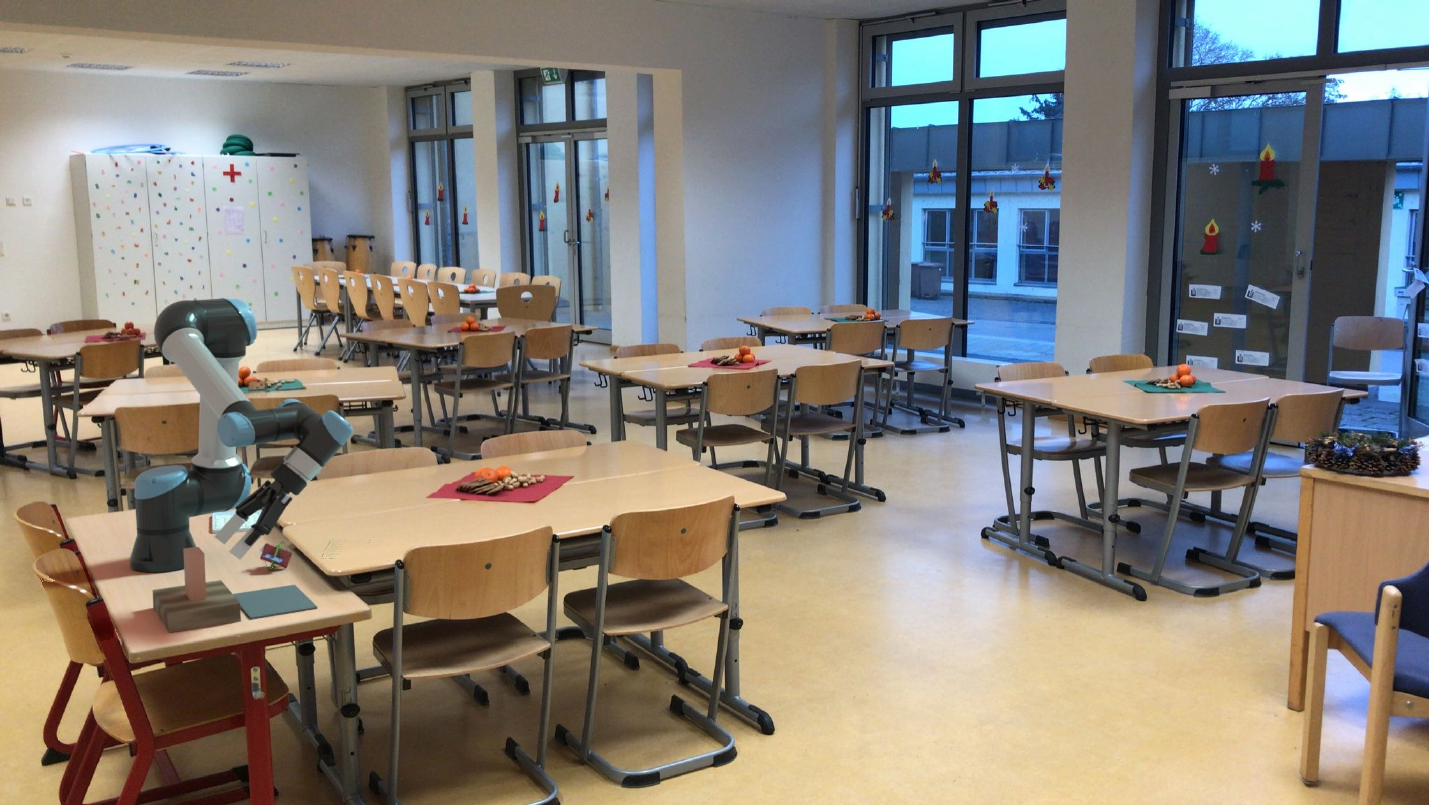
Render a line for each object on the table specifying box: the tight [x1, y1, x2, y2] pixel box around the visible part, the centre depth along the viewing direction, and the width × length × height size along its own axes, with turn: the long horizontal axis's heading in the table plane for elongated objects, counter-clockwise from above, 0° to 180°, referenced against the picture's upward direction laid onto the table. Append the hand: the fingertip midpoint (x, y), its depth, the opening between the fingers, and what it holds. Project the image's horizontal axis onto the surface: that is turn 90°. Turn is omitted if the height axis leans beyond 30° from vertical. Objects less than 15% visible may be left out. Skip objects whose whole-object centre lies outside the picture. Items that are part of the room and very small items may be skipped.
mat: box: [232, 584, 318, 620], centre depth 260 cm, size 18×14×1 cm
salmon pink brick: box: [183, 546, 207, 601], centre depth 249 cm, size 6×3×10 cm, turn 35°
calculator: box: [211, 508, 263, 535], centre depth 324 cm, size 13×20×2 cm, turn 23°
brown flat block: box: [152, 579, 242, 633], centre depth 250 cm, size 18×14×4 cm
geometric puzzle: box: [259, 540, 293, 572], centre depth 284 cm, size 7×7×8 cm
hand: (226, 548), depth 251 cm, fingers open, 13 cm apart
